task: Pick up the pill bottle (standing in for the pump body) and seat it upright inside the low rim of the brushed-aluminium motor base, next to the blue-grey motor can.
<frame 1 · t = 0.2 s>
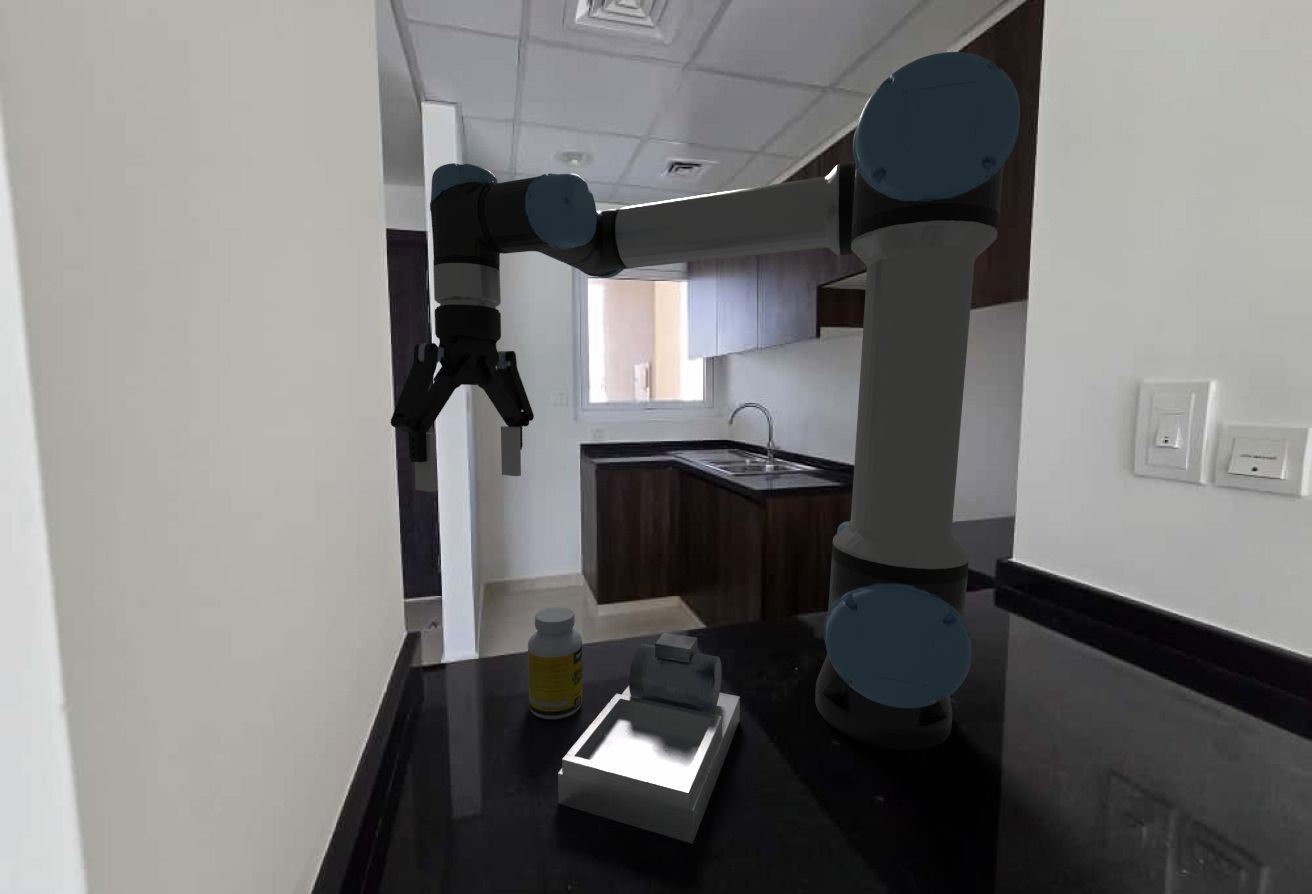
hand: (472, 482, 69), 27 cm above the worktop, fingers open, 13 cm apart
pill bottle: (555, 708, 68), on the worktop
motor base: (659, 757, 58), on the worktop
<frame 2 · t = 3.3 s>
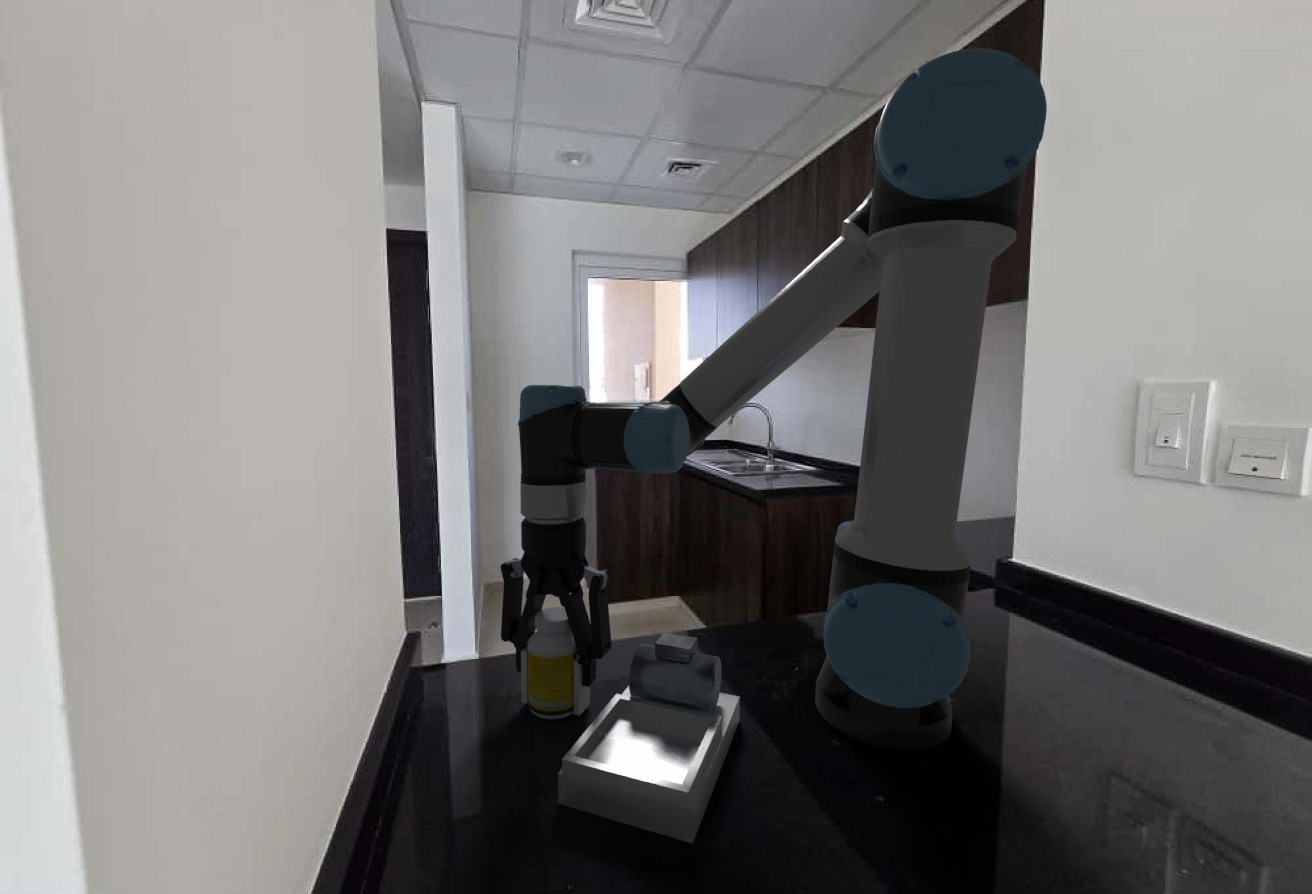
hand: (555, 702, 68), 0 cm above the worktop, fingers closed on pill bottle, 6 cm apart
pill bottle: (555, 708, 68), on the worktop, touching gripper
when the fingers open (5 cm above the worktop, at t = 8.0 s): pill bottle drops 1 cm, resting on motor base.
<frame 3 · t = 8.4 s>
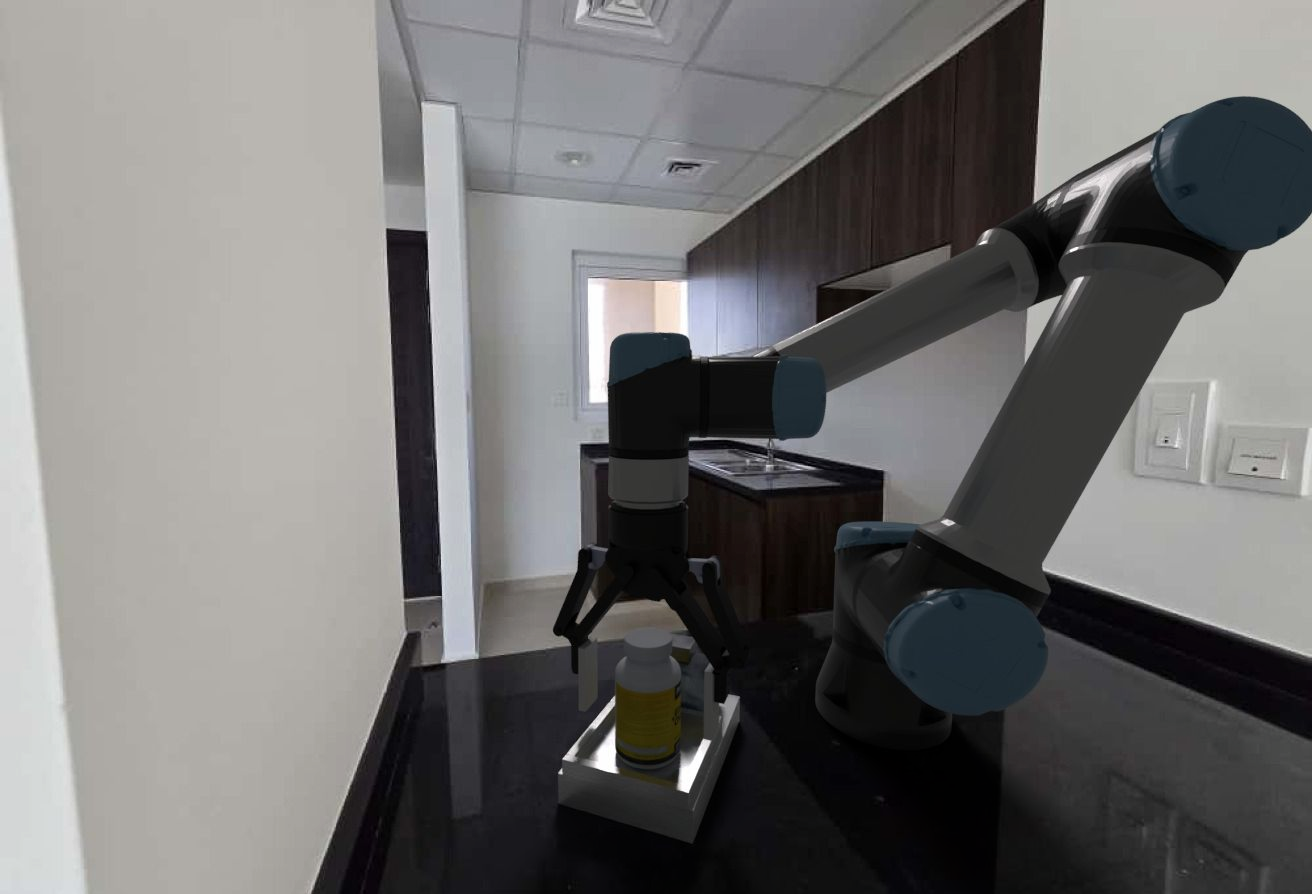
hand: (647, 717, 54), 6 cm above the worktop, fingers open, 12 cm apart
pill bottle: (647, 753, 55), point 3 cm above the worktop, touching motor base
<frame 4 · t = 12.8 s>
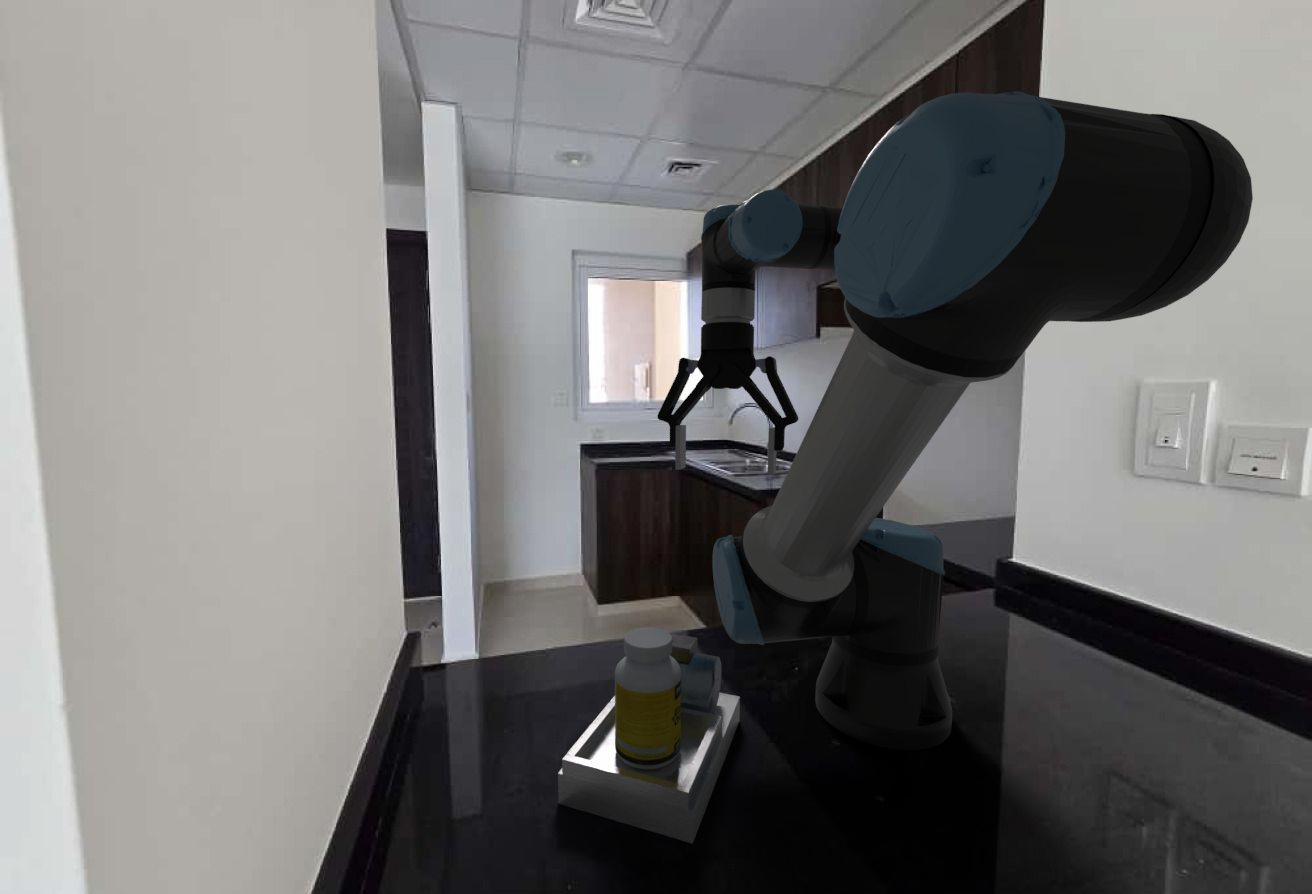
hand: (724, 471, 81), 27 cm above the worktop, fingers open, 13 cm apart
nothing on the worktop moved.
at the end: pill bottle inside the target area on the motor base (0.1 cm from its centre), point 2.8 cm above the motor base's base; pill bottle tilted 0°; the gripper is holding nothing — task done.
